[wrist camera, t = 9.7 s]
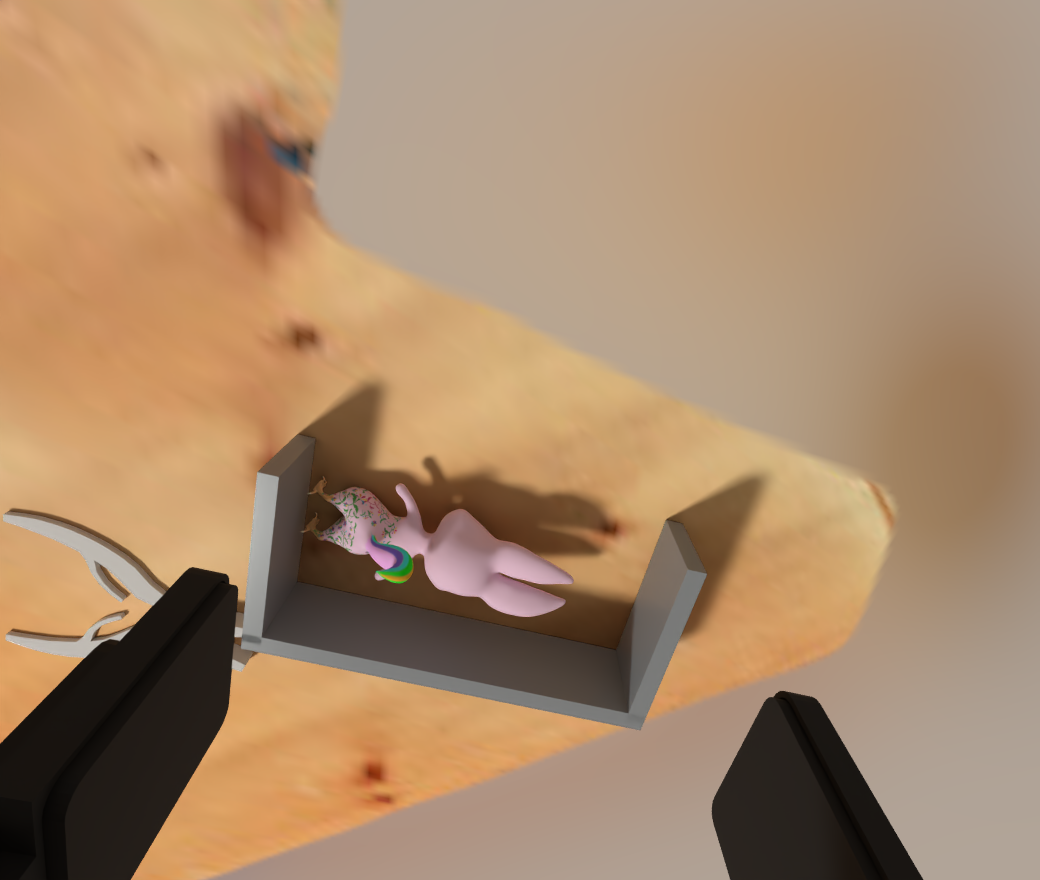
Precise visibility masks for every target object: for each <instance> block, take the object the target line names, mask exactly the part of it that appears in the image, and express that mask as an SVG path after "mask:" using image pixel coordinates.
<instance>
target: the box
mask: <svg viewBox="0 0 1040 880" xmlns="http://www.w3.org/2000/svg"><path fill="white" fill-rule="evenodd" d="M315 440H316V439H315V438H311V437H307V436H302V435H298V434H297V435H296V436H295V437H294V438H293V439H292V440H291V441H290V442H289V443H288V444H287V445H286V446H284V447H283V448H282V449H281V450H280V451H279V452H278V453H277V454H276V455H275V456H274V457H273V458H272V459H271V460H270V461H269V462H268V463H266V464H265V465H264V466H263V467H262V468H261V469H260V470H259V471H258V472H257V481H256V492H255V503H254V513H253V524H252V535H251V546H250V556H249V567H248V578H247V588H246V599H245V610H244V621H243V631H242V642H241V649H246V650H250V651H255V652H260V653H265V654H270V655H275V656H280V657H285V658H290V659H294V660H299V661H304V662H309V663H314V664H319V665H324V666H329V667H333V668H338V669H343V670H348V671H353V672H358V673H363V674H368V675H372V676H377V677H382V678H387V679H392V680H397V681H402V682H407V683H412V684H416V685H421V686H426V687H431V688H436V689H441V690H446V691H451V692H455V693H460V694H465V695H470V696H475V697H480V698H485V699H490V700H494V701H499V702H504V703H509V704H514V705H519V706H524V707H529V708H534V709H538V710H543V711H548V712H553V713H558V714H563V715H568V716H573V717H577V718H582V719H587V720H592V721H597V722H602V723H607V724H612V725H616V726H621V727H626V728H631V729H636V730H641V728H642V725H643V723H644V721H645V718H646V716H647V714H648V711H649V709H650V707H651V704H652V702H653V700H654V697H655V695H656V693H657V690H658V688H659V686H660V683H661V681H662V679H663V676H664V674H665V672H666V669H667V667H668V665H669V662H670V660H671V658H672V655H673V653H674V651H675V648H676V646H677V643H678V641H679V639H680V636H681V634H682V632H683V629H684V627H685V625H686V622H687V620H688V618H689V615H690V613H691V611H692V608H693V606H694V604H695V601H696V599H697V597H698V594H699V592H700V590H701V587H702V585H703V583H704V580H705V578H706V576H707V572H706V570H705V568H704V566H703V564H702V562H701V560H700V558H699V556H698V554H697V552H696V550H695V548H694V546H693V544H692V542H691V539H690V537H689V535H688V533H687V531H686V529H685V527H684V525H683V524H682V523H678V522H673V521H669V520H666V521H665V524H664V526H663V529H662V532H661V534H660V537H659V539H658V542H657V545H656V547H655V550H654V553H653V555H652V558H651V560H650V563H649V566H648V568H647V571H646V573H645V576H644V579H643V581H642V584H641V587H640V589H639V592H638V594H637V597H636V600H635V602H634V605H633V607H632V610H631V613H630V615H629V618H628V620H627V623H626V626H625V628H624V631H623V634H622V636H621V639H620V641H619V644H618V647H617V649H616V650H614V649H609V648H605V647H600V646H595V645H591V644H586V643H581V642H577V641H572V640H567V639H563V638H558V637H553V636H549V635H544V634H539V633H535V632H530V631H525V630H521V629H516V628H511V627H507V626H502V625H497V624H493V623H488V622H483V621H479V620H474V619H469V618H465V617H460V616H455V615H451V614H446V613H441V612H437V611H432V610H427V609H423V608H418V607H413V606H409V605H404V604H399V603H395V602H390V601H385V600H381V599H376V598H371V597H367V596H362V595H357V594H353V593H348V592H343V591H339V590H334V589H329V588H325V587H320V586H315V585H311V584H306V583H301V582H297V579H298V571H299V563H300V555H301V548H302V540H303V533H302V532H301V531H303V530H304V525H305V517H306V509H307V502H308V494H307V493H309V486H310V478H311V471H312V463H313V455H314V448H315Z"/></svg>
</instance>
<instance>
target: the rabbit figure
mask: <svg viewBox="0 0 1040 880" xmlns="http://www.w3.org/2000/svg"><path fill="white" fill-rule="evenodd" d="M321 477H322V476H321ZM322 478H323V480H320V481H319V482H318V484H317V485H316V486H315V487H314V488H313V489H312V491H313V492H310V493H307V494H314V493H318V494H319V495H320V496H322V497H323V498H324V499H325V501H327V502H331V503H332V504H333V505H334V506H335V507H336V508H337V509H338V510H339V511H341V512H342V513H343V515H344V516H343V517H341V518H340V519H338V520H337V521H336V522H335V523H334V524H333V525H332V526H331V527H329V528H328V529H326V530H324V531H318V530H317V529H316V525H317V524H318V523H319V521H320V520H319V519H317V516H318V515H317V513H316V512H315V514H316V517H315V518H313V519H312V520H311V522H310V523H309V524H308V525H307V526H306V527H305V528H306V530H303V531H301V532H302V533H304V532H306V531H309V530H310V531H311V532H312V533H313V534H314V535H315V536H316V538H317V539H318V540H320V541H330V542H333V543H335V544H338V545H340V546H342V547H343V548H345V549H346V550H347V551H349V552H351V553H353V554H358V555H364V554H370V555H371V557H372V558H373V559H374V561H375V562H376V563H378V564H379V565H380V566H381V567H382V568H384V569H381V570H378V571H376V573H375V578H376V580H383V579H386V580H388V581H390V582H393V583H404V582H405V581H407V580H408V579H409V578H410V577H411V575H412V573H413V569H414V565H413V560H412V558H413V557H414V556H415V555H416V554H422V555H423V556H424V559H425V562H424V563H425V570H426V573H427V575H428V577H429V579H430V580H431V582H432V583H433V584H434V586H435V587H437V588H438V589H440V590H443V591H449V592H451V593H454V594H457V595H462V596H475V597H480V598H482V599H483V600H484V601H485V602H486V603H487V604H488V605H489V606H490V607H492V608H494V609H496V610H498V611H500V612H503V613H506V614H510V615H515V616H521V617H532V616H538V615H542V614H545V613H548V612H550V611H553V610H555V609H557V608H559V607H561V606H563V605H564V604H565V602H566V601H565V599H563V598H560V597H557V596H554V595H552V594H550V593H547V592H545V591H543V590H539V589H537V588H534V587H531V586H529V585H526V584H524V583H521V582H519V581H516V580H513V579H510V578H508V577H505V576H503V575H501V574H500V573H503V574H505V575H507V576H510V577H513V578H517V579H522V580H526V581H530V582H533V583H538V584H572V583H573V582H574V580H573V578H572V576H571V575H569V574H568V573H567V572H565V571H564V570H562V569H560V568H559V567H557V566H555V565H554V564H552V563H550V562H549V561H547V560H545V559H543V558H542V557H540V556H538V555H536V554H534V553H533V552H531V551H530V550H528V549H526V548H524V547H522V546H520V545H518V544H516V543H513V542H509V541H502V540H499V539H496V538H495V537H493V536H492V535H491V534H490V533H489V532H488V531H487V530H486V529H485V528H484V527H483V526H482V525H481V524H480V523H479V522H478V521H477V520H476V519H475V518H474V517H473V516H472V515H471V514H470V513H469V512H467V511H466V510H464V509H457V510H454V511H452V512H450V513H448V514H447V515H446V516H445V517H444V518H443V519H442V521H441V523H440V524H439V526H438V528H437V530H436V532H435V533H427V532H426V531H425V530H424V529H423V526H422V521H421V516H420V513H419V510H418V507H417V505H416V502H415V500H414V499H413V497H412V495H411V494H410V492H409V490H408V489H407V487H406V486H405V485H404V484H402V483H399V484H398V485H397V486H396V491H397V493H398V494H399V495H400V497H401V498H402V499H403V500H404V502H405V504H406V507H407V516H406V517H398V516H395V515H393V514H391V513H390V512H389V511H388V510H387V509H386V507H385V506H384V505H383V504H382V503H381V502H380V501H379V500H378V499H377V497H376V496H375V495H374V494H372V493H371V492H370V491H368V490H366V489H364V488H360V487H351V488H348V489H346V490H343V491H341V492H338V493H335V494H332V495H327V494H325V493H324V492H323V487H325V486H326V484H327V481H326V480H325V478H324V477H322ZM324 480H325V481H324ZM324 482H325V483H324ZM499 572H500V573H499Z"/></svg>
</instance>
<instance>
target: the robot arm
mask: <svg viewBox="0 0 1040 880" xmlns="http://www.w3.org/2000/svg"><path fill="white" fill-rule="evenodd" d="M237 600H238V587H237V586H236V585H231V584H229V577H228V575H226V574H223V573H218V572H213V571H209V570H204V569H199V568H194V567H192V568H189V569H188V570H187V571H185V572H184V573H183V574H182V576H181V577H180V578H179V579H178V580H177V581H176V582H175V583H174V584H173V585H172V586H171V587H170V588H169V589H168V590H167V591H166V592H165V594H164V595H163V596H162V597H161V598H160V599H159V600H158V601H157V602H156V603H155V604H154V605H153V606H152V607H151V608H150V609H149V611H148V612H147V613H146V614H145V615H144V616H143V617H142V618H141V619H140V620H139V621H138V622H137V623H136V624H135V625H134V626H133V627H132V629H131V630H130V631H129V632H128V633H127V634H126V635H125V636H124V637H123V638H122V639H121V640H120V641H119V640H113V639H109V640H106V641H104V642H102V643H100V644H99V645H98V646H97V647H96V648H94V649H93V650H92V651H91V652H90V653H89V654H88V655H87V656H86V657H85V658H84V659H83V660H82V661H81V662H80V663H79V664H78V665H77V666H76V667H75V668H74V669H73V671H72V672H71V673H70V674H69V675H68V676H67V677H66V678H65V679H64V680H63V681H62V682H61V683H60V684H59V685H58V686H57V687H56V688H55V689H54V690H53V691H52V692H51V693H50V694H49V695H48V696H47V697H46V698H45V699H44V700H43V701H42V702H41V703H40V704H39V705H38V706H37V707H36V708H35V709H34V710H33V711H32V712H31V713H30V714H29V715H28V716H27V717H26V718H25V719H24V720H23V721H22V722H21V723H20V724H19V725H18V726H17V727H16V728H15V729H14V730H13V731H12V732H11V733H10V734H9V735H8V736H7V737H6V738H5V740H4V741H3V742H2V743H1V744H0V880H131V878H132V876H133V875H134V873H135V871H136V870H137V868H138V866H139V865H140V863H141V861H142V860H143V858H144V856H145V855H146V853H147V851H148V849H149V848H150V846H151V844H152V843H153V841H154V839H155V838H156V836H157V834H158V833H159V831H160V829H161V828H162V826H163V824H164V822H165V821H166V819H167V817H168V816H169V814H170V812H171V811H172V809H173V807H174V806H175V804H176V802H177V801H178V799H179V797H180V795H181V794H182V792H183V790H184V789H185V787H186V785H187V784H188V782H189V780H190V779H191V777H192V775H193V774H194V772H195V770H196V768H197V767H198V765H199V763H200V762H201V760H202V758H203V757H204V755H205V753H206V752H207V750H208V748H209V747H210V745H211V743H212V741H213V740H214V738H215V736H216V735H217V733H218V731H219V730H220V728H221V726H222V724H223V722H224V719H225V716H226V714H227V710H228V706H229V696H230V684H231V672H232V660H233V648H234V636H235V624H236V612H237ZM712 819H713V823H714V827H715V830H716V833H717V836H718V840H719V843H720V847H721V850H722V853H723V857H724V860H725V863H726V867H727V870H728V873H729V877H730V880H923V878H922V877H921V875H920V873H919V872H918V870H917V868H916V867H915V865H914V863H913V861H912V860H911V858H910V856H909V855H908V853H907V851H906V849H905V848H904V846H903V844H902V843H901V841H900V839H899V838H898V836H897V834H896V832H895V831H894V829H893V827H892V826H891V824H890V822H889V821H888V819H887V817H886V815H885V814H884V812H883V810H882V809H881V807H880V805H879V803H878V802H877V800H876V798H875V797H874V795H873V793H872V791H871V790H870V788H869V786H868V785H867V783H866V781H865V779H864V778H863V776H862V774H861V773H860V771H859V769H858V768H857V766H856V764H855V762H854V761H853V759H852V757H851V756H850V754H849V752H848V751H847V749H846V747H845V745H844V744H843V742H842V741H841V739H840V737H839V735H838V733H837V732H836V730H835V728H834V727H833V725H832V723H831V721H830V720H829V718H828V717H827V715H826V713H825V711H824V710H823V708H822V706H821V705H820V703H819V702H818V701H817V699H815V698H813V697H810V696H805V695H800V694H796V693H791V692H786V691H780V692H778V693H776V694H775V696H774V697H769V698H768V699H766V701H765V702H764V704H763V706H762V708H761V709H760V711H759V713H758V715H757V717H756V719H755V721H754V723H753V725H752V727H751V728H750V730H749V732H748V734H747V736H746V738H745V740H744V742H743V744H742V746H741V748H740V750H739V751H738V753H737V755H736V757H735V759H734V761H733V763H732V765H731V767H730V768H729V770H728V772H727V774H726V776H725V778H724V780H723V782H722V784H721V786H720V787H719V789H718V791H717V793H716V795H715V797H714V800H713V804H712Z"/></svg>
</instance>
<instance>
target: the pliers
mask: <svg viewBox="0 0 1040 880" xmlns="http://www.w3.org/2000/svg"><path fill="white" fill-rule="evenodd" d="M3 521H4V522H7V523H10V524H13V525H16V526H19V527H22V528H25V529H28V530H30V531H33V532H36V533H38V534H41V535H43V536H46V537H49V538H51V539H53V540H56V541H58V542H60V543H62V544H64V545H66V546H68V547H70V548H72V549H74V550H76V551H78V552H80V553H81V555H82V556H83V557H84V559H85V560H86V562H87V565H88V567H89V569H90V571H91V573H92V575H93V576H94V577H95V579H96V580H97V582H98V583H99V584H100V585H101V586H102V587H103V588H104V589H105V590H106V591H107V592H108V593H109V594H111V595H112V596H113V597H114V598H116V599H117V600H118V601H120V602H122V601H123V600H124V599H125V598H126V597H127V596H126V595H125V594H123V593H122V592H121V591H120V590H118V589H117V588H116V587H115V586H114V585H113V584H112V583H111V582H110V581H109V580H108V579H107V577H106V576H105V574H104V573H103V571H102V570H101V566H100V564H101V565H102V566H104V567H105V568H107V569H108V570H109V571H110V572H111V573H112V574H113V575H114V576H115V577H116V578H117V579H119V580H120V581H121V582H122V583H123V584H124V585H125V586H126V588H127V589H128V590H129V591H130V592H131V593H132V594H133V595H134V596H135V597H136V598H138V599H140V600H142V601H144V602H146V603H148V604H150V605H152V606H153V605H154V604H155V603H156V602H157V601H158V600H159V599H160V598H161V597H162V596H163V595H164V594H165V592H166V590H164V589H163V588H162V587H160V586H159V585H158V584H157V583H155V582H154V581H153V580H152V579H151V577H150V576H149V575H148V574H147V573H146V572H145V571H144V570H143V569H142V567H141V566H140V565H139V564H138V563H136V562H135V561H134V560H133V559H131V558H130V557H129V556H128V555H126V554H125V553H124V552H122V551H120V550H119V549H117V548H116V547H114V546H113V545H111V544H109V543H108V542H106V541H104V540H102V539H100V538H98V537H96V536H94V535H92V534H90V533H88V532H86V531H84V530H82V529H79V528H77V527H74V526H72V525H69V524H66V523H63V522H61V521H57V520H54V519H50V518H47V517H43V516H38V515H32V514H27V513H19V512H11V511H8V512H6V513H5V514H3ZM124 616H126V615H125V613H124V612H122V613H117V614H113V615H110V616H107V617H104V618H102V619H101V620H99V621H98V622H96V623H95V624H94V625H93V626H91V627H90V628H89V629H88V631H87V632H86V634H85V635H84V636H83V637H81V638H59V637H48V636H40V635H33V634H26V633H20V632H14V631H9V632H8V633H7V634H6V641H9V642H12V643H15V644H18V645H20V646H23V647H27V648H30V649H33V650H36V651H40V652H45V653H49V654H54V655H61V656H68V657H83V658H85V657H86V656H87V655H88V654H89V653H90V652H91V651H92V650H93V649H94V648H96V647H97V646H98V645H99V644H100V643H102V642H104V641H106V640H109V639H113V640H119V641H120V640H121V639H122V638H123V637H124V636H125V635H126V634H127V633H128V632H129V631H130V630H131V629H132V627H133V626H132V627H129V628H127V629H124V630H122V631H120V632H117V633H114V634H111V635H109V636H104V637H96V638H94V637H95V634H96V632H97V629H98V628H99V627H100V626H102V625H104V624H107V623H109V622H112V621H116V620H120V619H122V618H123V617H124ZM243 621H244V613H240V612H236V624H235V636H234V637H242V631H243ZM252 654H253V652H252V651H250V650H246V649H241V646H239V645H237V644H235V643H234V648H233V660H232V669H234V670H238V671H241V672H242V670H243V669H244V667H245V665H246V664H247V662H248V661H249V659H250V657H251V656H252Z"/></svg>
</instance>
